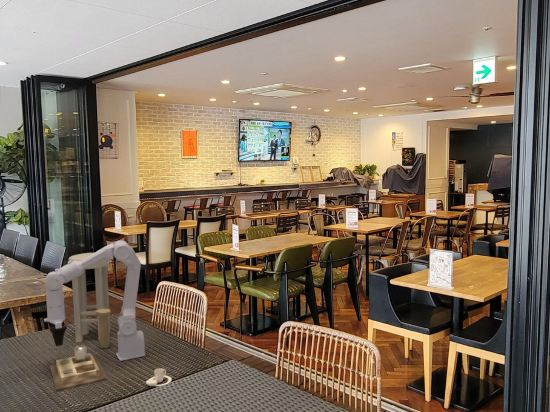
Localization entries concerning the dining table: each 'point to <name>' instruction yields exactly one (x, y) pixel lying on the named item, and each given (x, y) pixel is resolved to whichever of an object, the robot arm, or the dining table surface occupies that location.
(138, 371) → the dining table surface
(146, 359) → the dining table surface
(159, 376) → the teacup and saucer
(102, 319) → the handle
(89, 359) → the socket block
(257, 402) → the dining table surface
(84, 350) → the peg
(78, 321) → the stool
